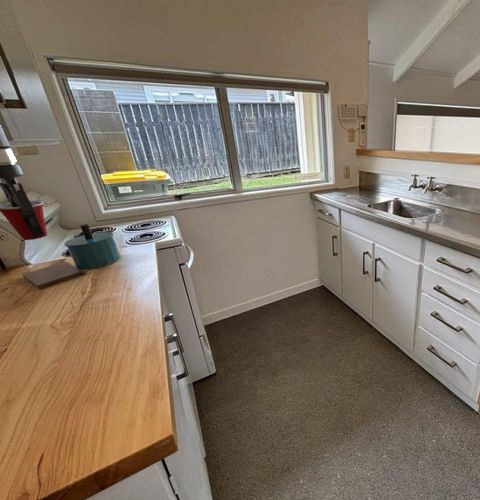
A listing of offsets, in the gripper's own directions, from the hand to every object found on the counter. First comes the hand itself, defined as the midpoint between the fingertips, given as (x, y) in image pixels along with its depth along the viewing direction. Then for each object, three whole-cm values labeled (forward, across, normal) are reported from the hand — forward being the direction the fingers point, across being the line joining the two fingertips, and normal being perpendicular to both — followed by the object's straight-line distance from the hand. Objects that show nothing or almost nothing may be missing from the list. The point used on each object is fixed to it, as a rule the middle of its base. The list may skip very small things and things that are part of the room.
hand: (34, 233), depth 96 cm
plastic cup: (+2, 0, 0) cm, 2 cm away
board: (+16, +1, 0) cm, 16 cm away
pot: (+16, +1, -13) cm, 21 cm away
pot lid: (+7, +1, -13) cm, 15 cm away
